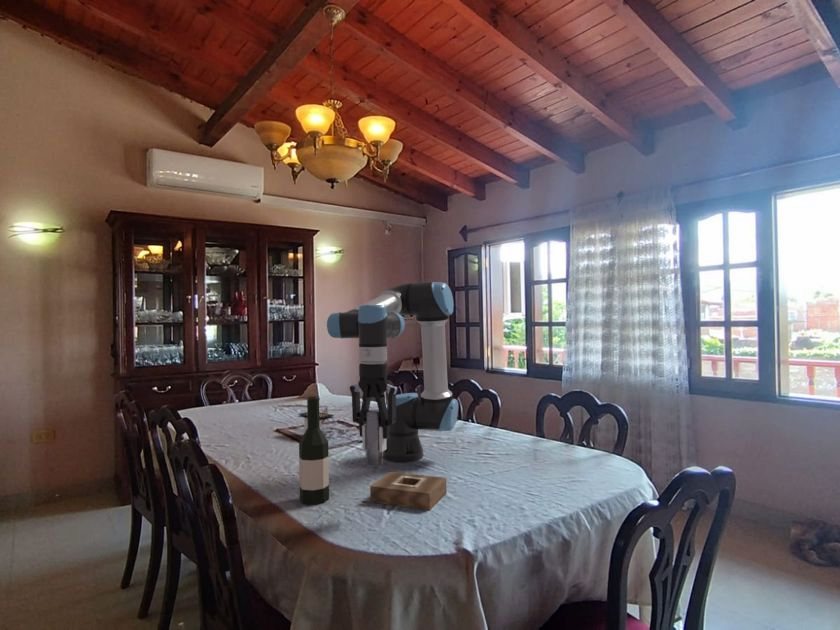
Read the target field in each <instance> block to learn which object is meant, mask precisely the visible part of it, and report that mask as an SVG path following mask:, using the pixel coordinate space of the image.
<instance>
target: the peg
mask: <svg viewBox="0 0 840 630" xmlns="http://www.w3.org/2000/svg"><path fill="white" fill-rule="evenodd" d="M381 425H382V423H381V419H380V414H379V409H378V408H377V409H375V408H374V409H373V408H372V409H369V410H367V411H366V450H365V452H366V454H365V455H366V457H365V458H366V461H365V462H366V465H367V466H373V467H374V466H375V467H376V466H381V465H383V464H384V458H383V452H380V448H379V427H380V426H381Z"/></svg>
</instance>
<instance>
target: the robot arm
mask: <svg viewBox="0 0 840 630" xmlns="http://www.w3.org/2000/svg"><path fill="white" fill-rule="evenodd" d="M453 313H454V297H453V293H452V291H451V288H450V286H449V285H448V284H447V283H445V282H441V281H440V282H438V281H432V282H431V281H430V282H428V281H427V282H412V283H411V282H407V283H406V282H405V283H402V284H398V285H395V286H392V287H390V288H387V289H385V290H384V291H382V292H380V293H379V294H378V296H377V297H375V298H374V299H371V300H369V301H366V302H365V303H362V304H360V305H359V306H357V307H355V308H354V307H353V308H352V309H350V310H347V311H345V312H340V311H339V312H332V313H331V314H330V315H329V316H328V318H327V320H326V328H327V333H328V335H329V336H330V337H331V338H336V339H358V361H359V362H360V363H359V364H358V370H359V371H358V374H359V375H358V376H359V381H358V383H357V384H353V385H350V386H349V391H350V393H351V408H352V422H353V423H357V424H358V425H359V437H360V438H362V439H361V443H362V445H361V446H362V451H366V411H367V410H370V405H371V401H372V399H373V398H374V399H375V403H377V404H376V405H377V409H378V410H379V414H380V419H381V423H382V425H381V426H380V427H379V448H380V452H383V460H384V459H385V460H387V461H391V462H400V463H402V462H412V461H417V460H420V459H422V458H423V457H424V448H423V445H422V443H421V440H420V437H419V430H420V431H421V430H422V431H435V432H451V431H452V430H453V429H454V428H455V426H456V423H457V419H458V416H459V415H458V414H459V401H458V400H457V399H456V398H453V391H451V390H450V389H449V385H448V383H449V382H448V364H447V363H448V362H447V360H448V359H447V344H446V342H447V341H446V326H445V325H446V323H447V322H448V321H449V319H450V316H451V315H452V314H453ZM403 316H415V318H416V320H415V321H416V322H417V323H418V324H419V326H420V332H421V335H420V336H421V351H422V352H421V353H422V368H423V370H422V371H423V384H424V385H423V386H424V387H423V388H424V390H423V391H422V392H421V393H420V397H419V394H418V393H417V392H407V393H406V392H405V393H399V394H398V391H399V387H398V386H396V385H395V386H393V385H391V384H390V383H389V381H388V364H387V361H388V343H387V342H388V339H395V338H397V337H399V336H401V335H402V334H403V333H404V330H405V328H406V327H405V325H406V322H405V319H404V317H403ZM386 391H387V402H386V395H385V393H386ZM361 392H362V397H361ZM361 399H362V403H361Z"/></svg>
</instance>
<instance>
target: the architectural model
mask: <svg viewBox="0 0 840 630" xmlns="http://www.w3.org/2000/svg"><path fill="white" fill-rule="evenodd" d="M297 416H298V417H300V418H304V420H303V421H304V432H305V431H306V430H307V428H308V424H307V411H306V412H301V413H297ZM333 418H335V415H334V414H330V413H328V406H325V408H324V410H322V412H320V411H319V425H320V429H321V431H322V432H323V430H322V428H323V427H322V425H323V424H324V422H326V420H328V419H333Z"/></svg>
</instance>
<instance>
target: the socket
mask: <svg viewBox="0 0 840 630" xmlns="http://www.w3.org/2000/svg"><path fill="white" fill-rule="evenodd" d="M369 488H370V489H369V491H370V493H369V494H370V503H376V504H381V505H382V504H383V505H388V506H389V505H391V506H398V507H403V508H413V509H420V510H424V511H425V510H427V511H431V510H432V509H433V508H434V507H435V506H436V504H438V503H439V502H440V500H442V498H443V497H444V496H446V494H447V477H441V476H440V477H439V476H433V475H431V476H430V475H424V474H423V475H422V474H413V473H405V472H396V471H390V472H389V473H387V474H386V475H384V476H383V477H381V478H379V480H377V481H376V482H374V483H373V484H371V485H370V486H369Z"/></svg>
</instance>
